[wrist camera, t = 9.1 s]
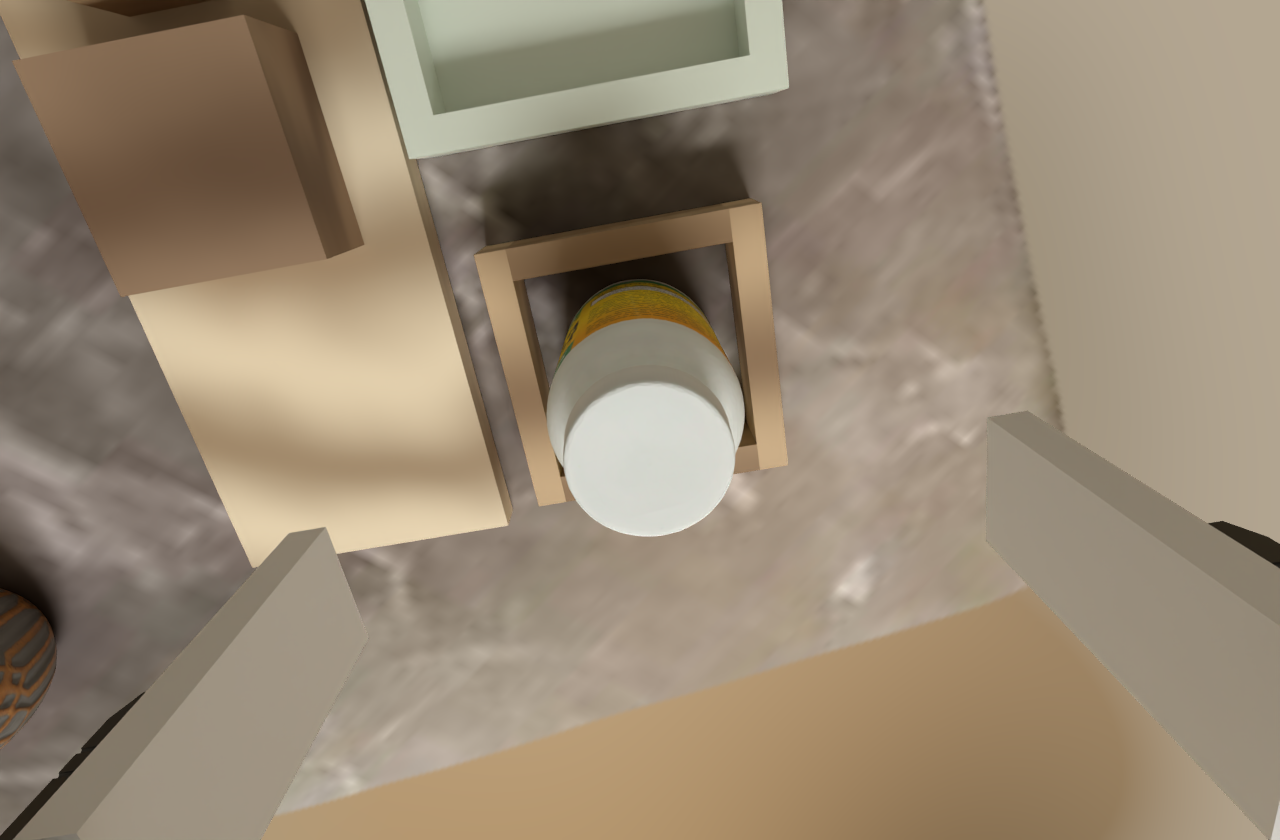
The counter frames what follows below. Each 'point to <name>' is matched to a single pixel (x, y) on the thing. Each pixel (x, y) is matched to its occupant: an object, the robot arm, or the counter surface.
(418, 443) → the board
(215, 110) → the walnut block
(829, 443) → the counter surface
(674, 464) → the supplement bottle
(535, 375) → the oak collar
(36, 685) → the vase
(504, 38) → the tray
